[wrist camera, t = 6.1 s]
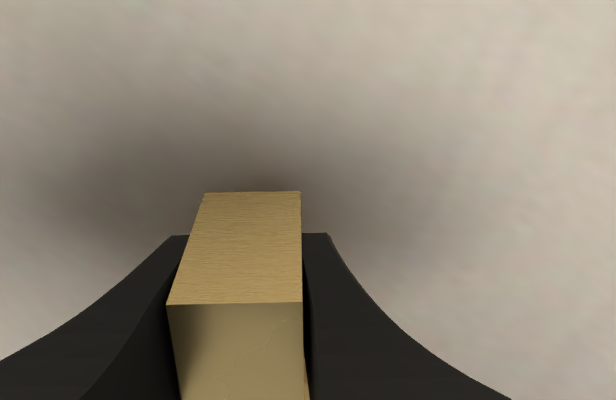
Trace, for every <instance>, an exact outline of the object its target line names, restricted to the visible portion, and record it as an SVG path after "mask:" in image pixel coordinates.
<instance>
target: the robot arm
mask: <svg viewBox="0 0 616 400" xmlns="http://www.w3.org/2000/svg"><path fill="white" fill-rule="evenodd" d="M189 236H190V235H179V236H171V237H169V238H168V239H167V240H166V241H165V242H164V243H163V244H162V245H160V246H159V247H158V248H157V249H156V250H155V251H154V252H153V253H152V254H151V255H150V256H149V257H148V258H147V259H145V260H144V261H143V262H142V263H141V264H140V265H139V266H138V267H137V268H135V269H134V270H133V271H132V272H131V273H130V274H129V275H128V276H126V277H125V278H124V279H123V280H122V281H121V282H119V283H118V284H117V285H116V286H114V287H113V288H112V289H111V290H109V291H108V292H107V293H106V294H104V295H103V296H102V297H101V298H99V299H98V300H97V301H96V302H94V303H93V304H92V305H91V306H89V307H88V308H86V309H85V310H84V311H82V312H81V313H79V314H78V315H77V316H75V317H74V318H72V319H71V320H69V321H68V322H66V323H65V324H63V325H62V326H60V327H59V328H57V329H55V330H54V331H52V332H51V333H49V334H47V335H46V336H44V337H42V338H40V339H39V340H37V341H35V342H33V343H31V344H30V345H28V346H26V347H24V348H23V349H21V350H19V351H17V352H15V353H14V354H12V355H10V356H8V357H6V358H4V359H3V360H1V361H0V400H182V398H181V392H180V387H179V381H178V375H177V369H176V363H175V357H174V351H173V345H172V339H171V333H170V327H169V321H168V315H167V309H166V303H167V300H168V297H169V294H170V291H171V288H172V285H173V282H174V279H175V277H176V274H177V271H178V268H179V265H180V262H181V259H182V256H183V254H184V251H185V248H186V245H187V242H188V239H189ZM301 247H302V303H303V350H304V358H305V366H306V374H307V382H308V390H309V398H310V400H511V399H510V398H508V397H506V396H504V395H502V394H501V393H499V392H497V391H495V390H493V389H491V388H489V387H487V386H485V385H483V384H482V383H480V382H478V381H476V380H474V379H472V378H470V377H468V376H467V375H465V374H463V373H462V372H460V371H458V370H457V369H455V368H454V367H452V366H451V365H449V364H447V363H446V362H444V361H443V360H441V359H440V358H438V357H437V356H435V355H434V354H432V353H431V352H430V351H428V350H427V349H426V348H424V347H423V346H422V345H421V344H419V343H418V342H417V341H415V340H414V339H413V338H411V337H410V336H409V335H408V334H406V333H405V332H404V331H403V330H402V329H401V328H400V327H399V326H398V325H396V324H395V323H394V322H393V321H392V320H391V319H390V318H389V317H388V316H387V315H386V314H385V313H384V312H383V311H382V310H381V309H380V307H379V306H378V305H377V304H376V303H375V302H374V301H373V300H372V298H371V297H370V296H369V295H368V294H367V293H366V291H365V290H364V289H363V288H362V286H361V285H360V284H359V283H358V281H357V280H356V278H355V277H354V276H353V274H352V273H351V272H350V270H349V269H348V267H347V266H346V264H345V263H344V261H343V260H342V258H341V256H340V255H339V253H338V251H337V250H336V248H335V246H334V244H333V242H332V239H331V237H330V236H329V235H328V234H327V233H301Z"/></svg>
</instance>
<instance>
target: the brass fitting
mask: <svg viewBox="0 0 616 400" xmlns="http://www.w3.org/2000/svg"><path fill="white" fill-rule="evenodd" d="M166 309H167V315H168V321H169V327H170V333H171V339H172V345H173V351H174V357H175V363H176V369H177V375H178V381H179V387H180V392H181V398H182V400H310V398H309V390H308V382H307V374H306V366H305V358H304V350H303V303H302V247H301V192H300V191H271V192H210V193H204V196H203V199H202V202H201V205H200V207H199V210H198V213H197V216H196V219H195V222H194V225H193V228H192V231H191V233H190V236H189V239H188V242H187V245H186V248H185V251H184V254H183V256H182V259H181V262H180V265H179V268H178V271H177V274H176V277H175V279H174V282H173V285H172V288H171V291H170V294H169V297H168V300H167V303H166Z"/></svg>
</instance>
